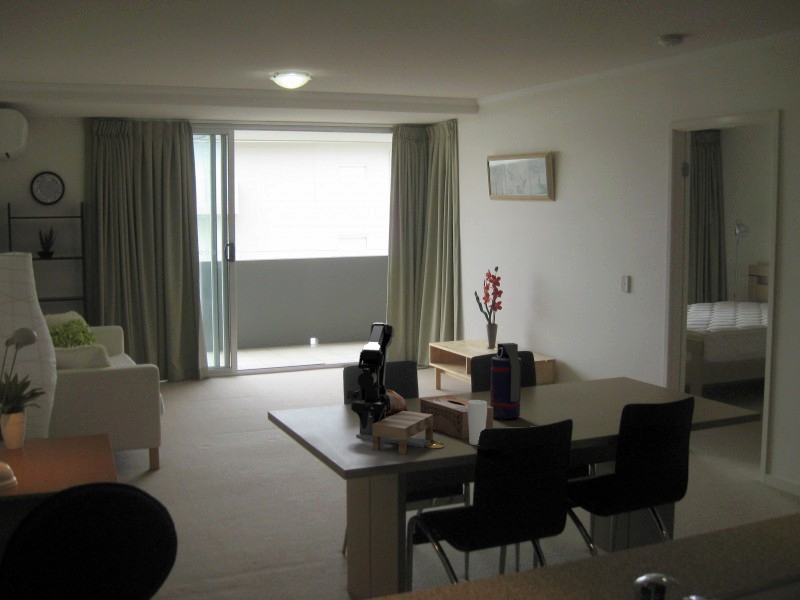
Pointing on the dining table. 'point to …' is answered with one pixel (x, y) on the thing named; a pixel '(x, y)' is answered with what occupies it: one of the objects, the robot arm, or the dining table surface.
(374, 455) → the dining table surface
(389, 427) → the wooden footstool
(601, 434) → the dining table surface
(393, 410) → the bread
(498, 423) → the dining table surface
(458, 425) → the tissue box cover
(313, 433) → the dining table surface
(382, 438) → the blade tool
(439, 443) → the brass token
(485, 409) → the drinking glass
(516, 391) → the grenade
